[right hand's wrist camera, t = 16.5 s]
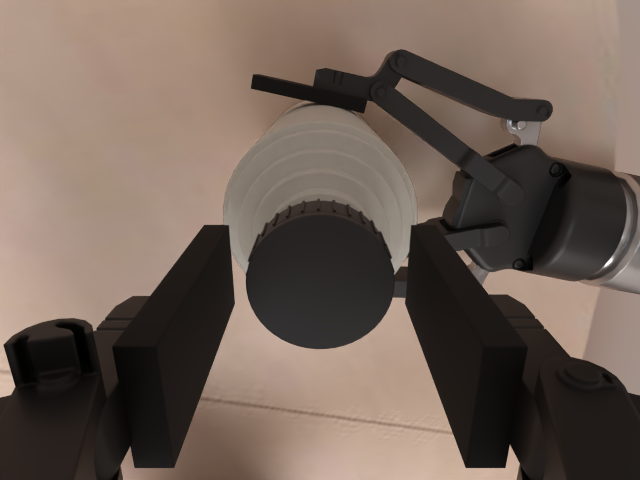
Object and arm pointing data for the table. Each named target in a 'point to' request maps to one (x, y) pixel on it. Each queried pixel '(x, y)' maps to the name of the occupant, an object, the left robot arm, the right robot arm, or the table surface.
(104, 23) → the table surface
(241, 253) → the bottle
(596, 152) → the table surface
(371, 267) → the cap
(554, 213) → the left robot arm
